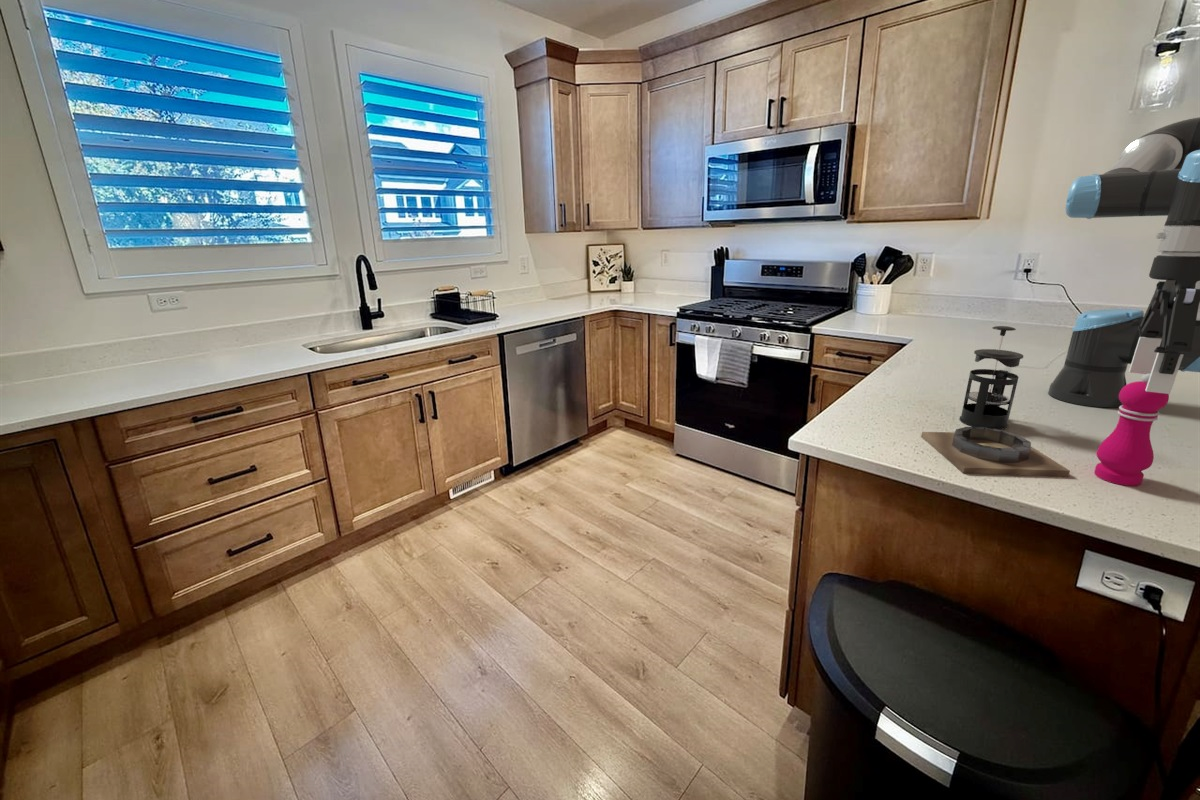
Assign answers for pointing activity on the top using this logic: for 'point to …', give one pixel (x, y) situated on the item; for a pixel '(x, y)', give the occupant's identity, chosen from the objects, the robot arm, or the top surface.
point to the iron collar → (994, 454)
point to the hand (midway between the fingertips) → (1147, 382)
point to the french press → (992, 413)
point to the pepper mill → (1130, 436)
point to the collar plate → (968, 464)
